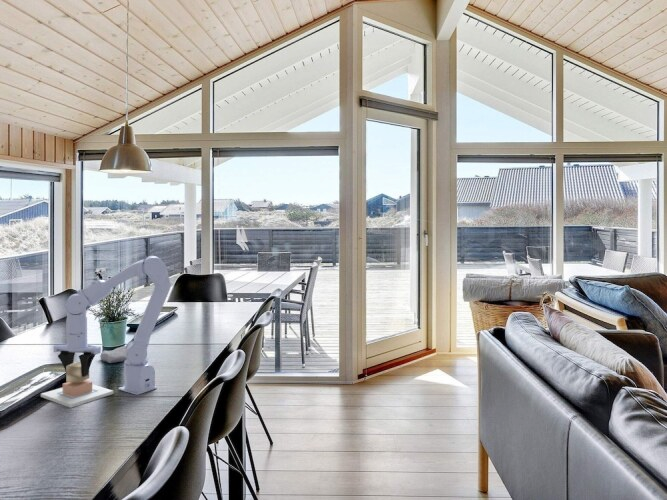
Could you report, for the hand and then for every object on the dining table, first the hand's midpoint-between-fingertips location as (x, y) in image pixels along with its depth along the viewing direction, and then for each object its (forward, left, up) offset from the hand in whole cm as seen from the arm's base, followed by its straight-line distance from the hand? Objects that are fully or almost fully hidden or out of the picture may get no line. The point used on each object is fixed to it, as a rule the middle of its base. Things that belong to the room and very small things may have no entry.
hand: (77, 375), depth 152 cm
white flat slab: (0, 0, -6) cm, 6 cm away
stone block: (+24, -32, -7) cm, 41 cm away
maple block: (0, 0, -2) cm, 2 cm away
